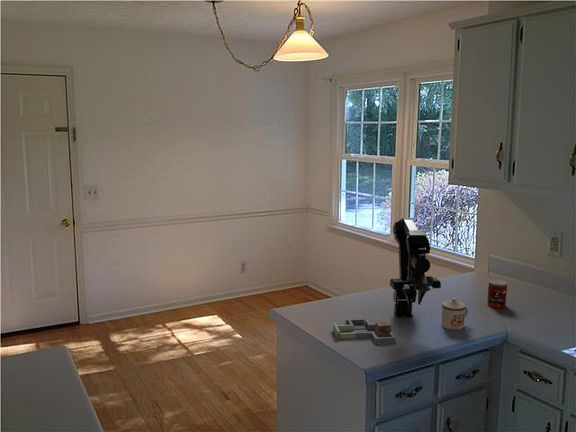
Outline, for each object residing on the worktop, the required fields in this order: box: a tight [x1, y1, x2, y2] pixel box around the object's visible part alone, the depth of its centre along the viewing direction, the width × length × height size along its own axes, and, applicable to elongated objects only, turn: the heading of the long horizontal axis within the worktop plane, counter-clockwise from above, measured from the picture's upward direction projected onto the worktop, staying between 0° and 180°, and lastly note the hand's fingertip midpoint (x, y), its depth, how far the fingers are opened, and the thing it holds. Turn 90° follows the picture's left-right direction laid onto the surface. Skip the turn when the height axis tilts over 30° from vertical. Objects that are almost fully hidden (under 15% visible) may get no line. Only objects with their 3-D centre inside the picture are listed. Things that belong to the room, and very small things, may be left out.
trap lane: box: [332, 318, 396, 345], centre depth 210 cm, size 21×20×3 cm
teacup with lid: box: [441, 297, 469, 331], centre depth 218 cm, size 12×9×12 cm
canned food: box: [487, 279, 508, 309], centre depth 241 cm, size 8×8×11 cm
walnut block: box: [374, 320, 393, 336], centre depth 211 cm, size 5×5×4 cm
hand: (414, 304), depth 211 cm, fingers open, 4 cm apart
